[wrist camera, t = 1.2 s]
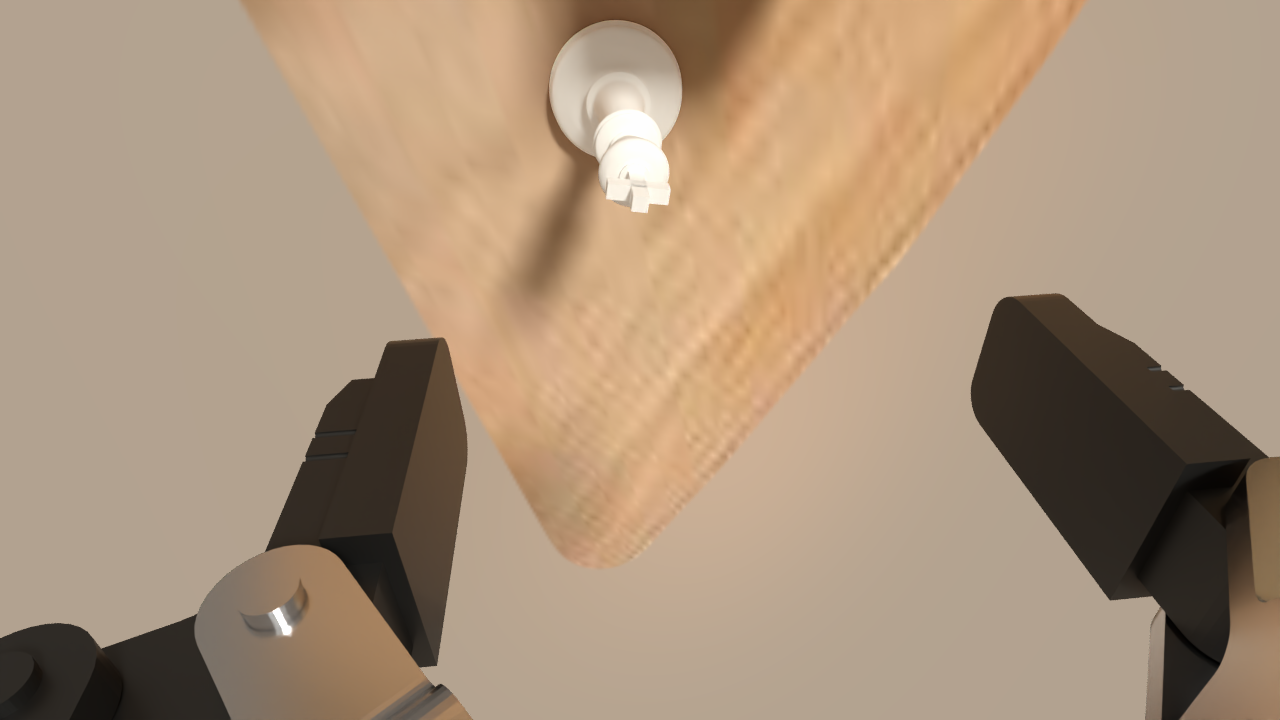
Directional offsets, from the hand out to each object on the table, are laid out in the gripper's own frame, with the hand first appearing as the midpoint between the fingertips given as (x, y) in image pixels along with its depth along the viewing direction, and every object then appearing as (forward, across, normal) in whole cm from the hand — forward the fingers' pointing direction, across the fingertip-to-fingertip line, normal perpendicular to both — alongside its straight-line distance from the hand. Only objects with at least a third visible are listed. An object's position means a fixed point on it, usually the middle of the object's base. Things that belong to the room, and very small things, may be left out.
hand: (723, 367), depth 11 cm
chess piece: (+19, 0, +1) cm, 19 cm away
